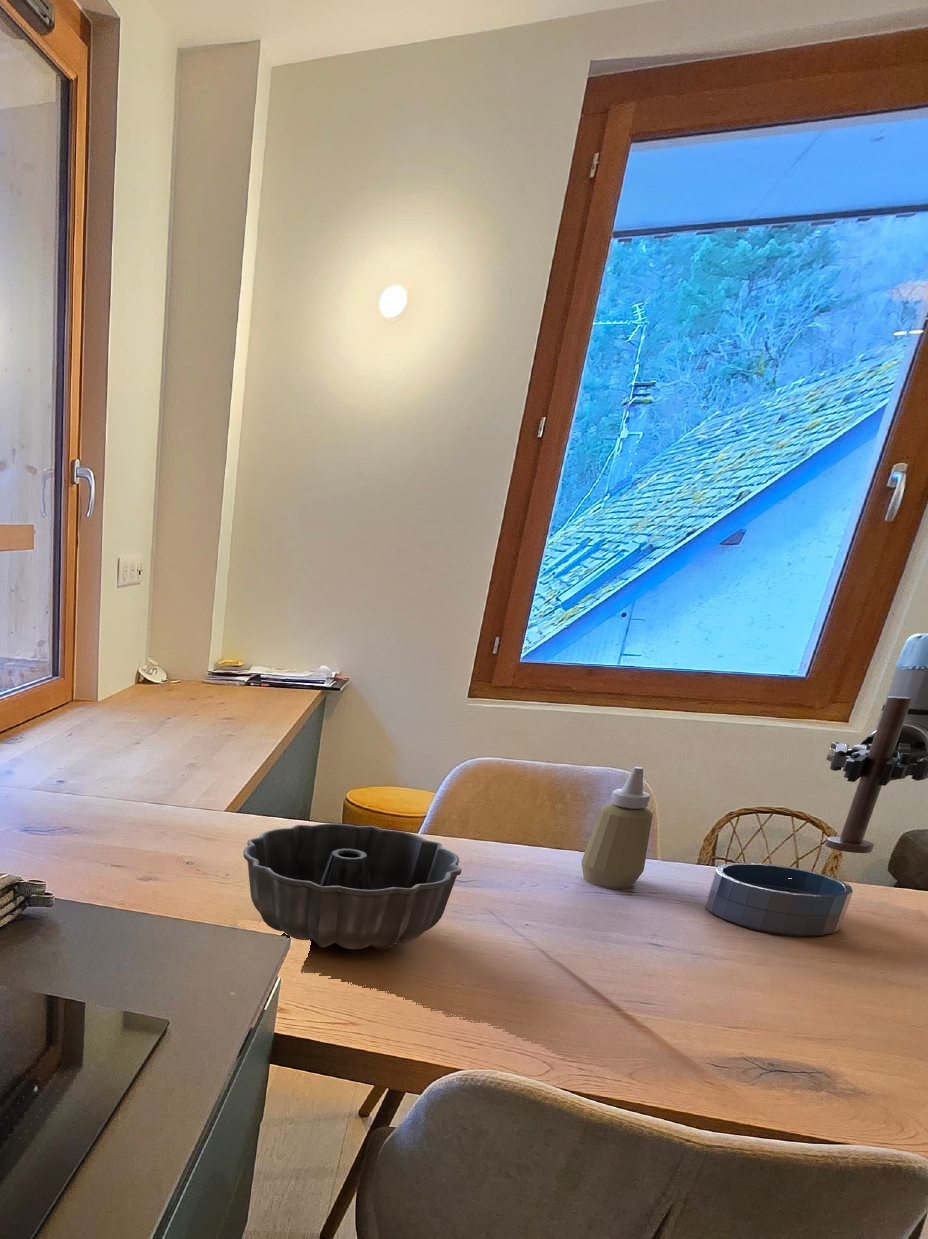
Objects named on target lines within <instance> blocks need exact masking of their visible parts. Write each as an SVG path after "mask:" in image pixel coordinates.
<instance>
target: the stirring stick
mask: <svg viewBox="0 0 928 1239" xmlns="http://www.w3.org/2000/svg"><path fill="white" fill-rule="evenodd" d="M911 701H912V698H910V697H899V696H889V697H888V698H887V701H886V704H885V707H884V710H883V713H882V716H881V719H880V722H879V725H878V728H877V731H876V733H875V736H874V739H873V742H872V745H871V748H870V751H869V754H868V757H867V760H866V763H865V766H864V769H863V772H862V775H861V777H860V778H859V781H858V784H857V786H856V790H855V793H854V796H853V798H852V801H851V804H850V807H849V810H848V813H847V816H846V819H845V822H844V825H843V828H842V830H841V833H840V835H839V836H829V837H827V838H826V841H825V844H824V846H825V847H827V848H829V849H831V850H836V851H839V852H840V851H841V852H845V853H852V854H853V853H854V854H870V853H872V852H873V849H874V846H875V844H874V843H873V842H871V841H869V840H866V839H864V838H865V835H866V833H867V830H868V826H869V823H870V821H871V818H872V815H873V812H874V810H875V807H876V804H877V800H878V799H879V796H880V792H881V789H882V787H883V785H878V783H879V780H880V778H881V775H882V772H883V769H884V766H885V764H886V763H887V762H888V761H889V760H890V759H891V758H892V755H893V752H894V750H895V747H896V744H897V741H898V738H899V735H900V732H901V730H902V727H903V724H904V721H905V718H906V715H907V712H908V710H909V707H910V704H911Z"/></svg>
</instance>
